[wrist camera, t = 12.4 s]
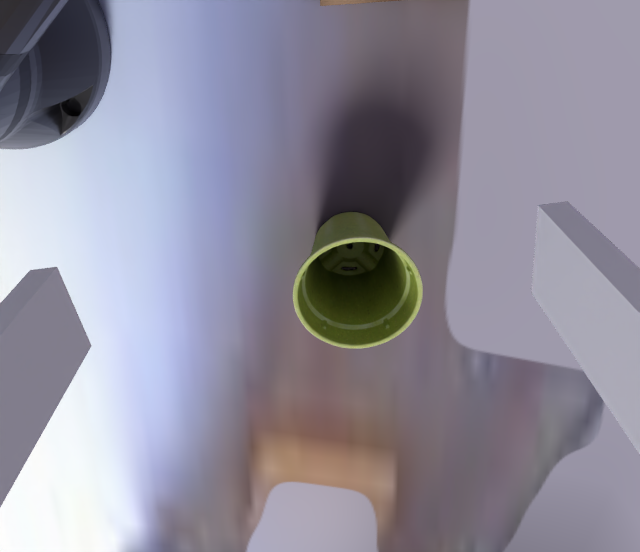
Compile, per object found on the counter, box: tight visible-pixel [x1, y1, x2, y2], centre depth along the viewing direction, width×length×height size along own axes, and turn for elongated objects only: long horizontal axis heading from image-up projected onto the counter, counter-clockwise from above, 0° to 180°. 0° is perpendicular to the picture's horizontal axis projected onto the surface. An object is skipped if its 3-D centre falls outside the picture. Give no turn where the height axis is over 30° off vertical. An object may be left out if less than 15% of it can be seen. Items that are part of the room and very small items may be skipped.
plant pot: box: [293, 212, 423, 348], centre depth 43 cm, size 9×9×9 cm
